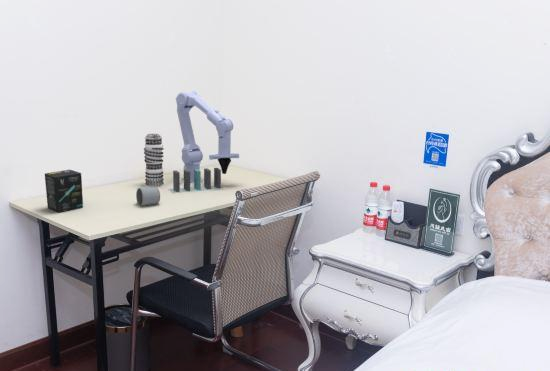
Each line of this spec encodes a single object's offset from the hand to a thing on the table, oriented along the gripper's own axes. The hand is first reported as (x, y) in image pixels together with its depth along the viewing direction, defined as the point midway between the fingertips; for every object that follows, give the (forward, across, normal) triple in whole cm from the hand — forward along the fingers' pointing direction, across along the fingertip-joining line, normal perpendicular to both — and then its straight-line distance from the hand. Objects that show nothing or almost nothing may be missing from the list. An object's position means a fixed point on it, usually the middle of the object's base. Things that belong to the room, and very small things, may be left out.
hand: (224, 173), depth 251 cm
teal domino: (+6, -13, 0) cm, 15 cm away
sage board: (+7, -13, 0) cm, 15 cm away
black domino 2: (+6, -18, 0) cm, 20 cm away
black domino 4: (+6, -3, 0) cm, 7 cm away
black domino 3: (+6, -8, 0) cm, 11 cm away
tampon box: (+7, -72, -11) cm, 74 cm away
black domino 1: (+6, -23, 0) cm, 24 cm away
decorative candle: (+7, -30, +13) cm, 34 cm away
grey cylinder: (+7, -41, -16) cm, 44 cm away
